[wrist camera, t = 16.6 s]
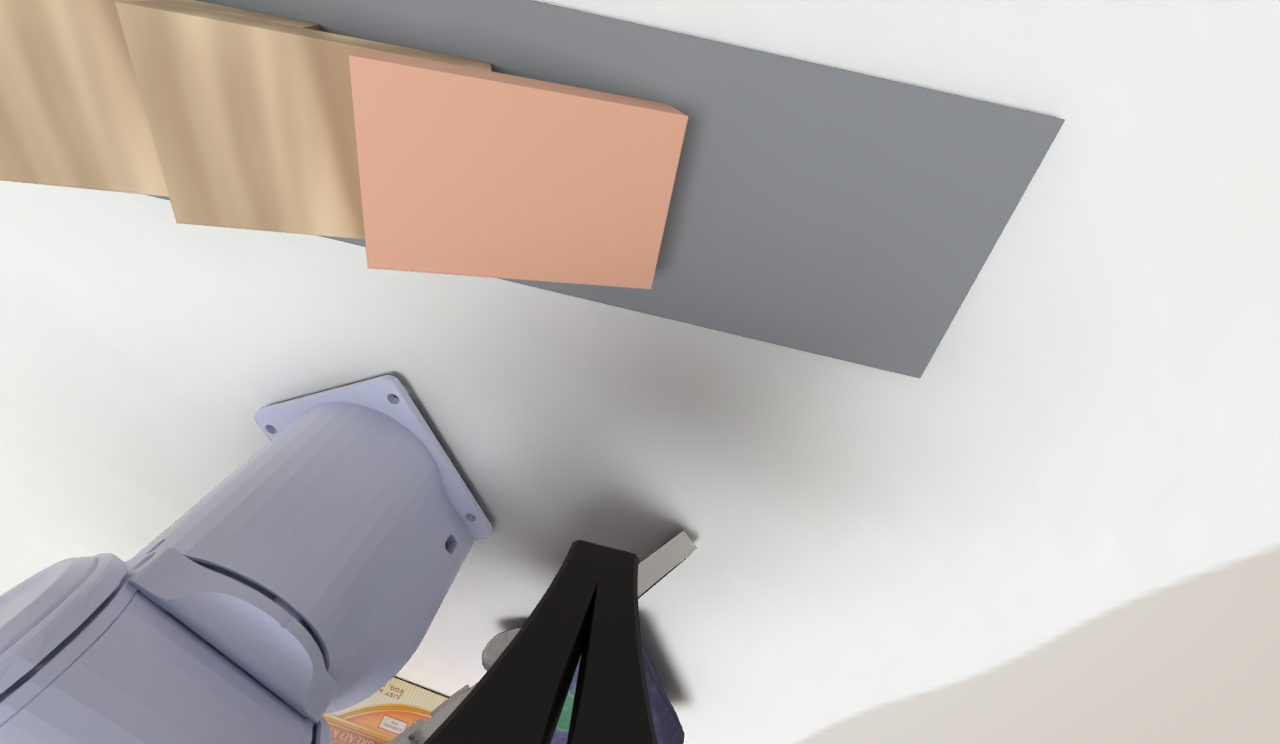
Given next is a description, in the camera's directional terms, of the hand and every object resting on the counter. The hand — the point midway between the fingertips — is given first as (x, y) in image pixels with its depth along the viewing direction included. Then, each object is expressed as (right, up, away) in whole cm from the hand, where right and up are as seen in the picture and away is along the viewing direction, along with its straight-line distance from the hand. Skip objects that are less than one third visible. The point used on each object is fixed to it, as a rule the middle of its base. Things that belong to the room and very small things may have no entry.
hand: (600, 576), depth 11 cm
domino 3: (+1, +10, +5) cm, 11 cm away
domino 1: (-9, +12, +5) cm, 16 cm away
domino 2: (-4, +11, +5) cm, 13 cm away
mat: (-5, +12, +6) cm, 14 cm away
